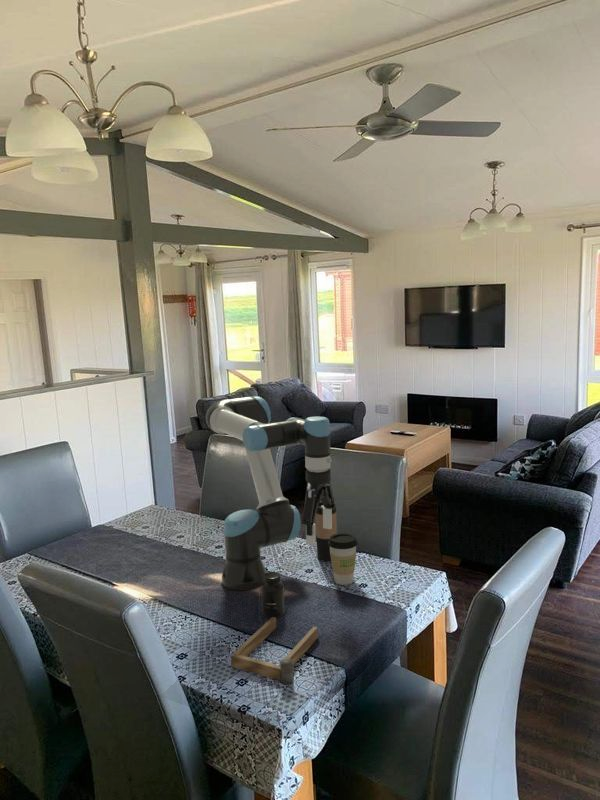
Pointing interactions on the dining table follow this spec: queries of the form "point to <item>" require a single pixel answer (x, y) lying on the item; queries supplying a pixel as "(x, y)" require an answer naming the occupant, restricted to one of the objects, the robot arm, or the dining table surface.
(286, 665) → the bay
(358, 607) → the dining table surface
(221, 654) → the dining table surface
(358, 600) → the dining table surface
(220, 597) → the dining table surface
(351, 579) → the coffee cup
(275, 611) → the supplement bottle
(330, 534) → the travel mug
